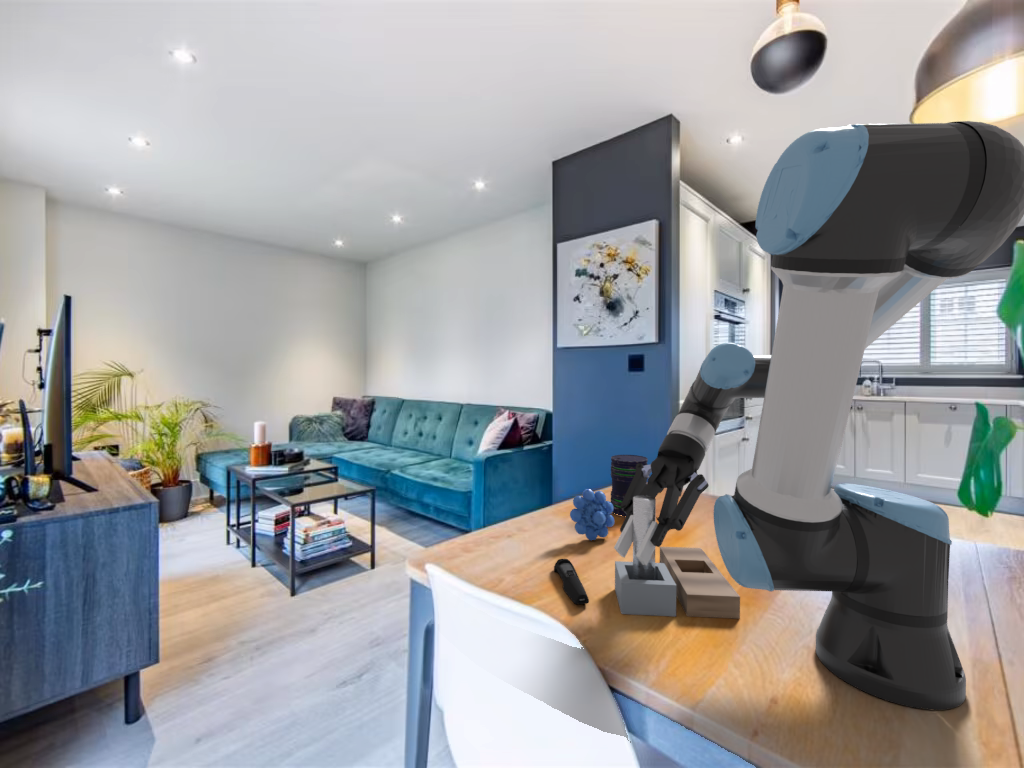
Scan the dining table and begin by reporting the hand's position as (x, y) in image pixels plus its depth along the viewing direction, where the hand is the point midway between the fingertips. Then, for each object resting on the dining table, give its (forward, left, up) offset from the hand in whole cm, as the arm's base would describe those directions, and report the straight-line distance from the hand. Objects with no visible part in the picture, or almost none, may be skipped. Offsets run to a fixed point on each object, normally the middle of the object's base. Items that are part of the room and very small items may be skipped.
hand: (630, 556), depth 76 cm
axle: (+3, -3, -6) cm, 7 cm away
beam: (+9, -13, -9) cm, 18 cm away
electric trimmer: (+7, +9, -9) cm, 15 cm away
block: (+3, -3, -9) cm, 9 cm away
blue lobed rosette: (+30, +3, -9) cm, 31 cm away
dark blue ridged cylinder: (+53, -8, -9) cm, 54 cm away
